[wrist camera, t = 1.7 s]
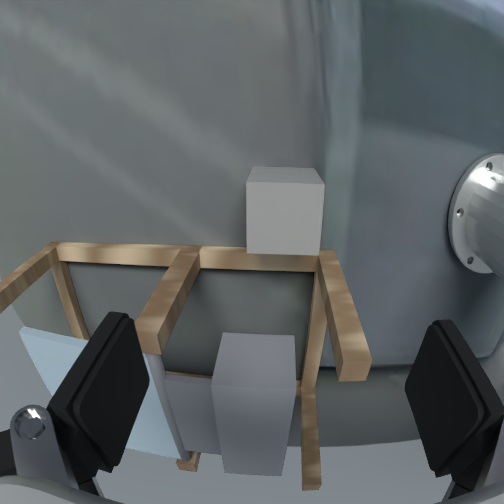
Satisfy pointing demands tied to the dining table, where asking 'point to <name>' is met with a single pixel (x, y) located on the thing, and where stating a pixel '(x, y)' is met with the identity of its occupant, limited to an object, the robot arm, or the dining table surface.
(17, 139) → the dining table surface
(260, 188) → the light grey block
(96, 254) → the frame
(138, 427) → the trapdoor
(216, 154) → the dining table surface
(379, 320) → the dining table surface
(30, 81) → the dining table surface
